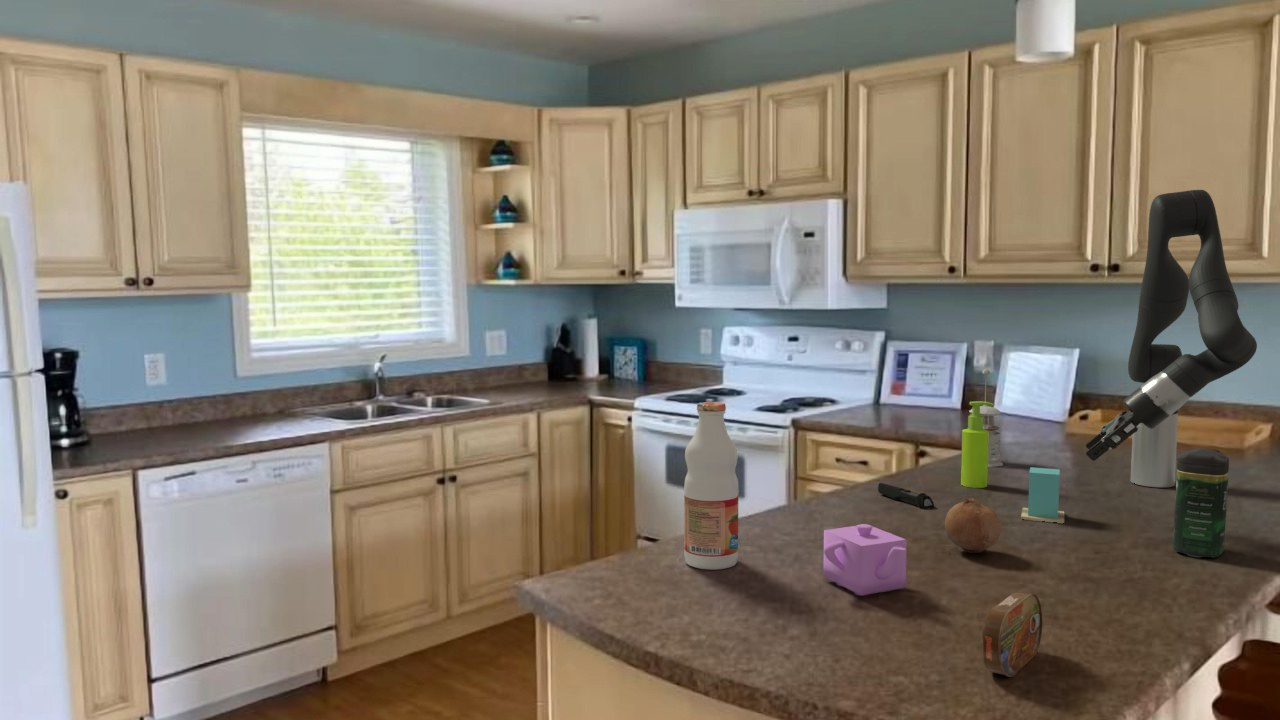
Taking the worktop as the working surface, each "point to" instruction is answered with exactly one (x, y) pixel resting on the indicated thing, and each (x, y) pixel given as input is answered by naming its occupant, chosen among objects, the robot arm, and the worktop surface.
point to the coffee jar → (1201, 502)
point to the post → (1034, 518)
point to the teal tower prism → (1043, 492)
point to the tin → (1012, 633)
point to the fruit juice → (711, 493)
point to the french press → (991, 431)
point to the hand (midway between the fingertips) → (1088, 453)
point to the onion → (972, 526)
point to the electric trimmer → (906, 496)
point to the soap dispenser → (975, 449)
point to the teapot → (864, 559)
